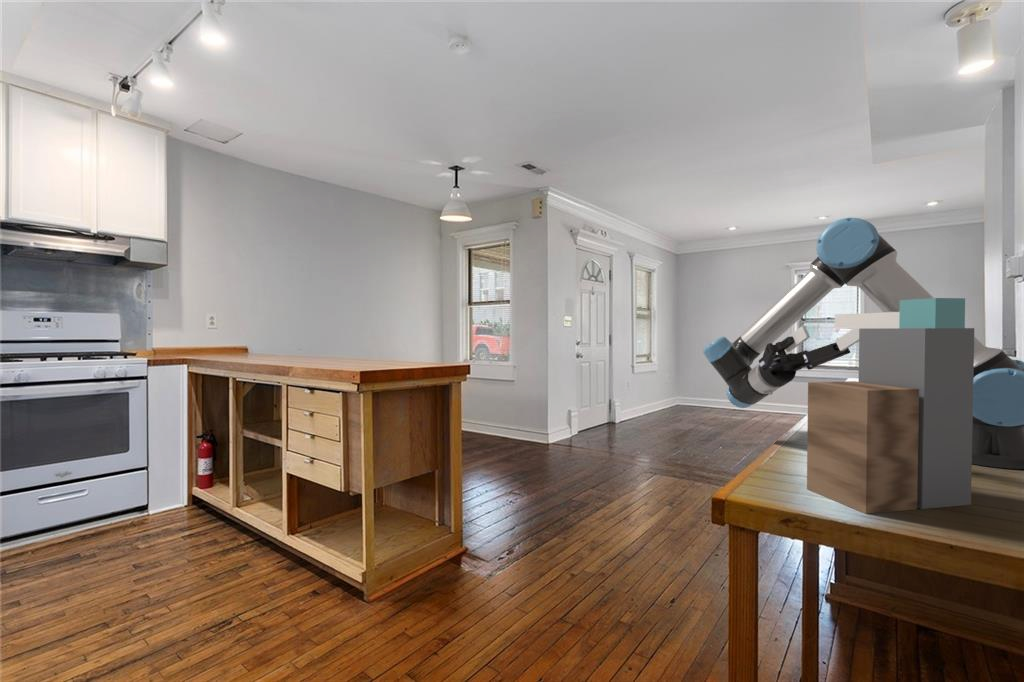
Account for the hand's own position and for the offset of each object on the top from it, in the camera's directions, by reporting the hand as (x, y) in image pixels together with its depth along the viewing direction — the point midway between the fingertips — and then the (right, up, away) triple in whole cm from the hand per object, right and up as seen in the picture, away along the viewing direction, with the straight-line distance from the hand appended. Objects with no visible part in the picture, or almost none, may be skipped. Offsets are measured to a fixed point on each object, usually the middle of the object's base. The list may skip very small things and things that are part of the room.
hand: (834, 331), depth 100 cm
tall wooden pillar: (-7, -30, -17) cm, 35 cm away
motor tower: (+3, -30, -15) cm, 34 cm away
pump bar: (+3, 0, -11) cm, 11 cm away
